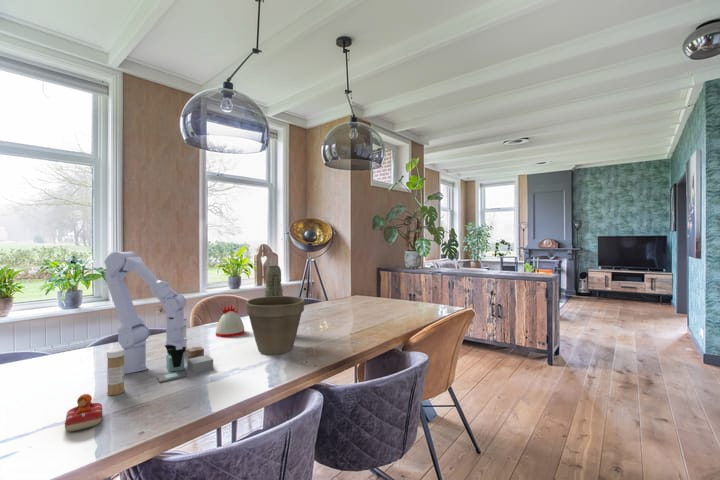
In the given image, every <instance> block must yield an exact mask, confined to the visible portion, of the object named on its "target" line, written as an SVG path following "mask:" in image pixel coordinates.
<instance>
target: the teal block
mask: <svg viewBox="0 0 720 480" xmlns="http://www.w3.org/2000/svg"><path fill="white" fill-rule="evenodd" d="M165 361H166V369H167V371H168V373H173V372H178V371H183V370H185V354H183V356H182V361H181V365H180V367H175V368H174V367H173V363H172V357H171V354H169V355H168V354H166V360H165Z"/></svg>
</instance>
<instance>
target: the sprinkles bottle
mask: <svg viewBox="0 0 720 480" xmlns="http://www.w3.org/2000/svg"><path fill="white" fill-rule="evenodd" d="M124 354H125V351H124V349H123V348H121V347H116V348H111V349H108V350H107V351H106V358H107V376H106V377H107V379H106V380H107V381H106V382H107V383H106V384H107V392H106V394H107V395H108V396H116V395H117V396H118V395H121V394H122V393H124V392H125V374H124Z"/></svg>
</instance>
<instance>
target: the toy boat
mask: <svg viewBox="0 0 720 480" xmlns="http://www.w3.org/2000/svg"><path fill="white" fill-rule="evenodd" d="M92 400H93V399H92V396H91V394H89V393H84V394H81V395H80V396H79V397H78V398H77V401H76V402H77V403H76V404H77V406H75V407H72V408H70V409H69V410H68V411H67V413H66V417H65V420H64V429H65V430H66V431H67V432H76V431H79V430H80V431H81V430H83V429H84V430H85V429H88V428H91V427H96V426H98V424H100V422H101V421H102V417H103V405H102V404H101V403H100V402H92Z"/></svg>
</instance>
